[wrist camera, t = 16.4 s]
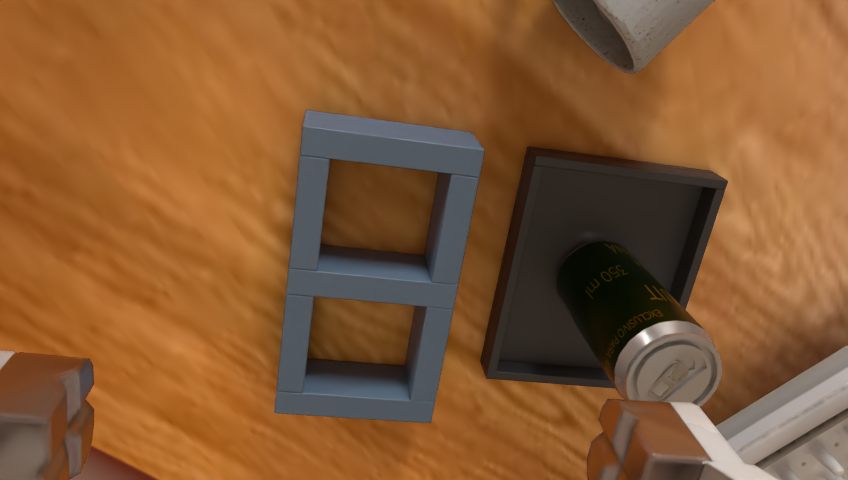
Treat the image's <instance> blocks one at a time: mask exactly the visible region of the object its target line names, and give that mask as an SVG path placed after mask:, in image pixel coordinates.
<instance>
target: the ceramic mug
mask: <svg viewBox="0 0 848 480" xmlns="http://www.w3.org/2000/svg"><path fill="white" fill-rule="evenodd" d="M552 1H553V2H554V4H555V6H556V7H557V9H558V11H559V12H560V14H561V15H562V16H563V17H564V19H565V20H566V21H567V22H568V24H569V25H570V26H571V28H572V29H573V30H574V31H575V32H576V33H577V35H578V36H579V37H580V38H581V39H582V40H583V41H584V42H585V43H586V44H587V45H588V46H589V47H590V48H591V49H592V50H593V51H594V52H595V53H596V54H597V55H598V56H599V57H600V58H602V59H603V60H604V61H606V62H608V63H609V64H610V65H611V66H613V67H615V68H617V69H618V70H621V71H623V72H625V73H629V74H635V73H637V72H639V71H640V70H642V69H643V68H644V67H645V66H646V65H647V64H648V63H649V62H650V61H651V60H652V59H653V58H654V57H655V56H656V55H657V54H658V53H659V52H660V51H661V50H662V49H663V48H665V47H666V46H667V45H668V44H669V43H670V42H671V41H672V40H673V39H674V38H675V37H676V36H678V35H679V34H680V33H681V32H682V31H683V30H684V29H685V28H686V27H687V26H688V25H689V24H690V23H691V22H692V21H693V20H694V19H695V18H696V17H697V16H698V15H700V14H701V13H702V12H703V11H704V10H705V9H706V8H707V7H708V6H709V5H710V4H711V3H712V2H714V1H715V0H552Z"/></svg>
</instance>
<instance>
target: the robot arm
mask: <svg viewBox="0 0 848 480" xmlns="http://www.w3.org/2000/svg"><path fill="white" fill-rule="evenodd" d="M93 385H94V375H93V364H92V362H91V360H90V359H87V358H77V357H66V356H56V355H45V354H35V353H24V352H19V353H17V352H15V351H2V350H0V480H69V479H71V478H73V477H74V476H76V475H78V474H79V473H80V472H81V470H82V468H83V466H84V464H85V462H86V459H87V457H88V453H89V449H90V446H91V442H92V437H93V429H94V409H93V407H92V406H91V405H90V404H89V403H88V401H87V400H86V398H87V396H88V394H89V392H90V390H91V388H92V387H93ZM598 420H599V422H600V424H601V427H602V429H603V432H602V433H601V434H600V435H599V436H597V437H596V438H595V439H594V440H593V441H592V442H591V446H590V449H589V453H588V457H587V477H588V480H779V479H777V478H776V477H774V476H772V475H771V474H769V473H767V472H765V471H764V470H762V469H760V468H759V467H757V466H755V465H753V464H744V462H743V461H742V460H741V458H740V457H739V456H738V455H737V453H736V452H735V451H734V450H733V448H732V447H731V446H730V445H729V443H728V442H727V441H726V440H725V438H724V437H723V436H722V435H721V433H720V432H719V431H718V430H717V428H716V427H715V426H714V425H713V423H712V422H711V421H710V420H709V418H708V417H707V416H706V415H705V413H704V412H703V411H702V410H701V408H700V407H699V406H697V405H695V404H693V403H689V402H656V401H637V400H618V399H607V401H606V402H605V404H604V405H603V406H602V409H601V412H600V415H599V419H598Z"/></svg>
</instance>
